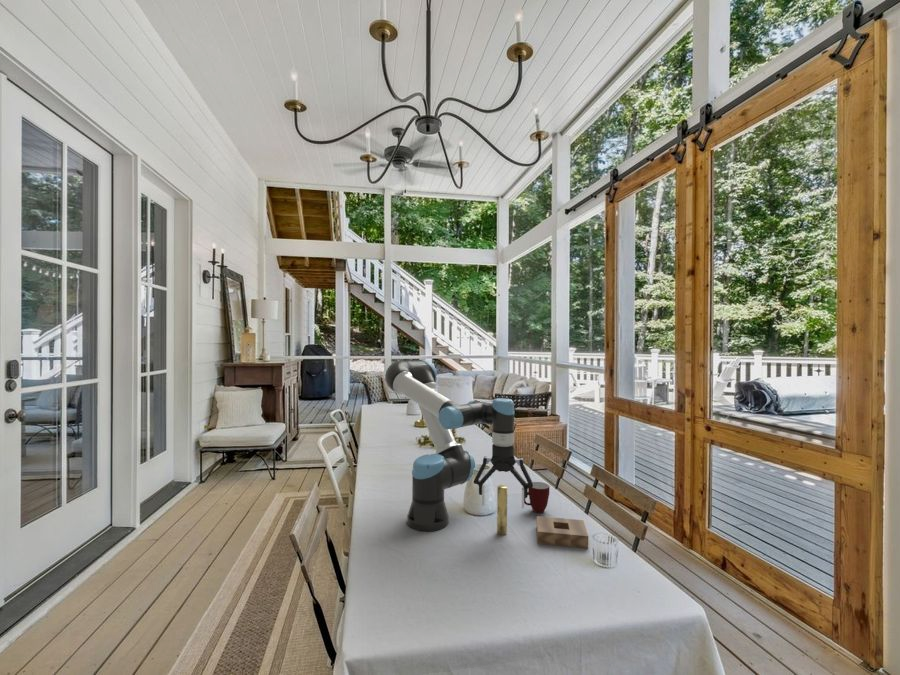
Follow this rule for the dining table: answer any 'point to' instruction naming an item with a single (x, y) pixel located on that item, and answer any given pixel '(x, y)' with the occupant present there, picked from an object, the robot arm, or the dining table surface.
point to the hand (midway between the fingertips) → (503, 505)
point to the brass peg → (502, 510)
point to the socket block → (562, 532)
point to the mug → (538, 496)
